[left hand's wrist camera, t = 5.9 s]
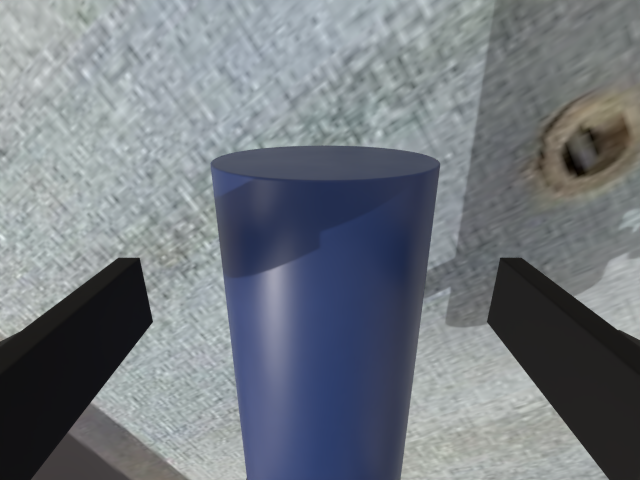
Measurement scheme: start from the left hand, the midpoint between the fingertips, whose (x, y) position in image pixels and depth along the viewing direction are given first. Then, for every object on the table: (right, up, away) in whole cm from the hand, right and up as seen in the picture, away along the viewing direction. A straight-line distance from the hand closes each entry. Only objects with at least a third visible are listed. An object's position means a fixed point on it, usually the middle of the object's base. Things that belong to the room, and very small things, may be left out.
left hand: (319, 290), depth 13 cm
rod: (0, -6, +10) cm, 12 cm away
